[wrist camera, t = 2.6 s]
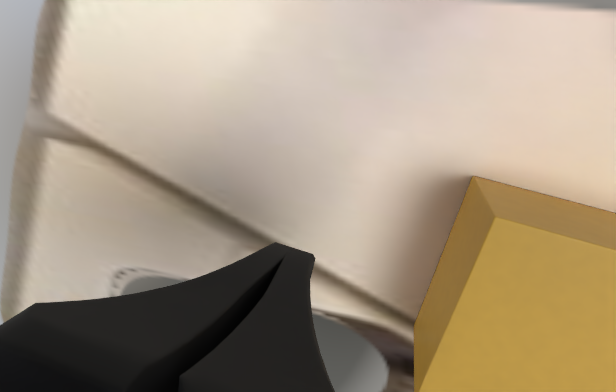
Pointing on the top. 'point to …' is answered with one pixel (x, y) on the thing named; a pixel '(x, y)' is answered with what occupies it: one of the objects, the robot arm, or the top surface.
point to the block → (520, 297)
